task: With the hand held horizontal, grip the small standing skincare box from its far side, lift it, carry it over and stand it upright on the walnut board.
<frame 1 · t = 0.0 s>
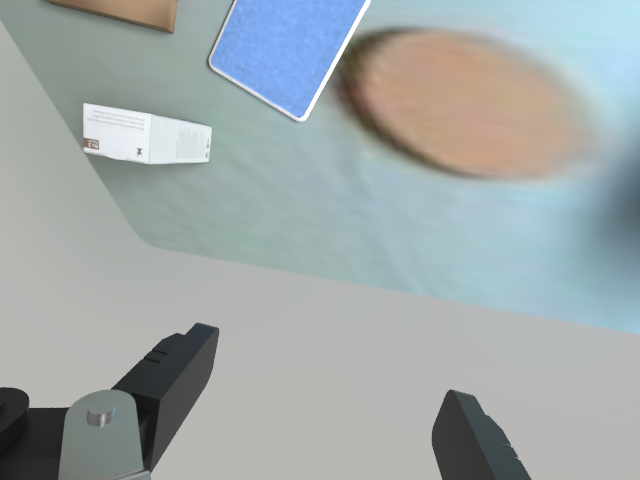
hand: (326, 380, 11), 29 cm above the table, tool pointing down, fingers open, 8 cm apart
tablet computer: (298, 14, 35), on the table
skincare box: (186, 141, 39), on the table
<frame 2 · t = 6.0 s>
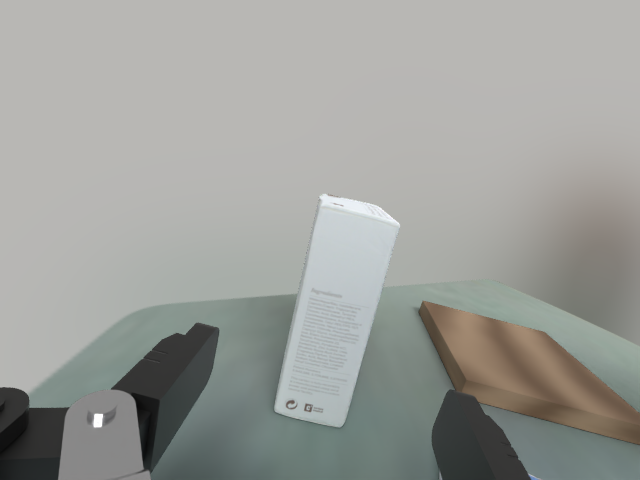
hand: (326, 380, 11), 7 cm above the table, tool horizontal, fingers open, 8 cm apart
skincare box: (307, 388, 21), on the table
walnut board: (508, 364, 31), on the table
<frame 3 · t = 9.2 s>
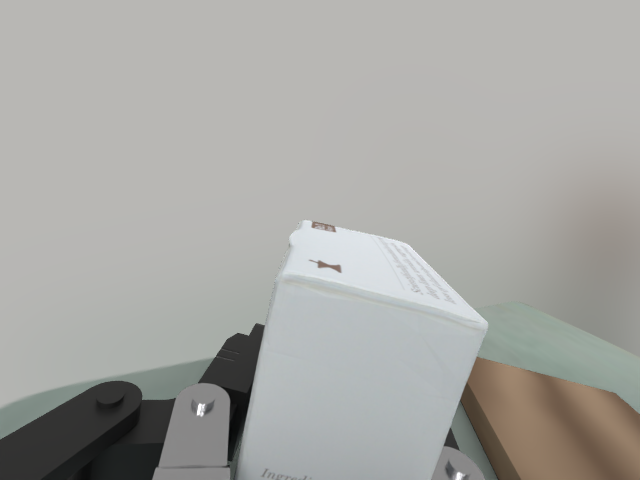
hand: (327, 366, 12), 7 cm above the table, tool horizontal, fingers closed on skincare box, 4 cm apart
walnut board: (582, 459, 21), on the table
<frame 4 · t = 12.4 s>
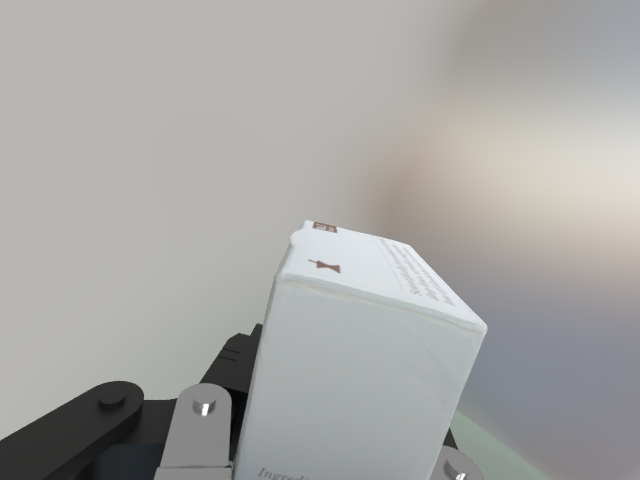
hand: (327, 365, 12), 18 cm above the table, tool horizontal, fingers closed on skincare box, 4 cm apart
when the fingers open (10 cm above the table, at t = 15.4 s): skincare box drops 1 cm, resting on walnut board.
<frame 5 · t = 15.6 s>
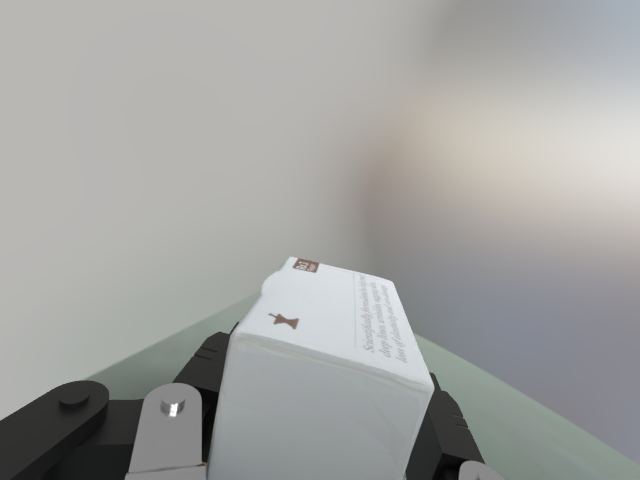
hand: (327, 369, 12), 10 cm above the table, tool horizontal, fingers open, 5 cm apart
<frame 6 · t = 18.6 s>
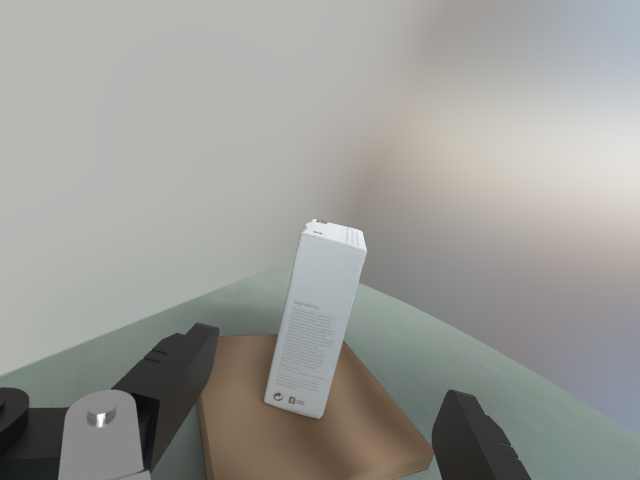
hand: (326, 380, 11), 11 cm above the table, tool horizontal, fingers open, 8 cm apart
skincare box: (296, 385, 25), point 1 cm above the table, touching walnut board
walnut board: (296, 404, 25), on the table
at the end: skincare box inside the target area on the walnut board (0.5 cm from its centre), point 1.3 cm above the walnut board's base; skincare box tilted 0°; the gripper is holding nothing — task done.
